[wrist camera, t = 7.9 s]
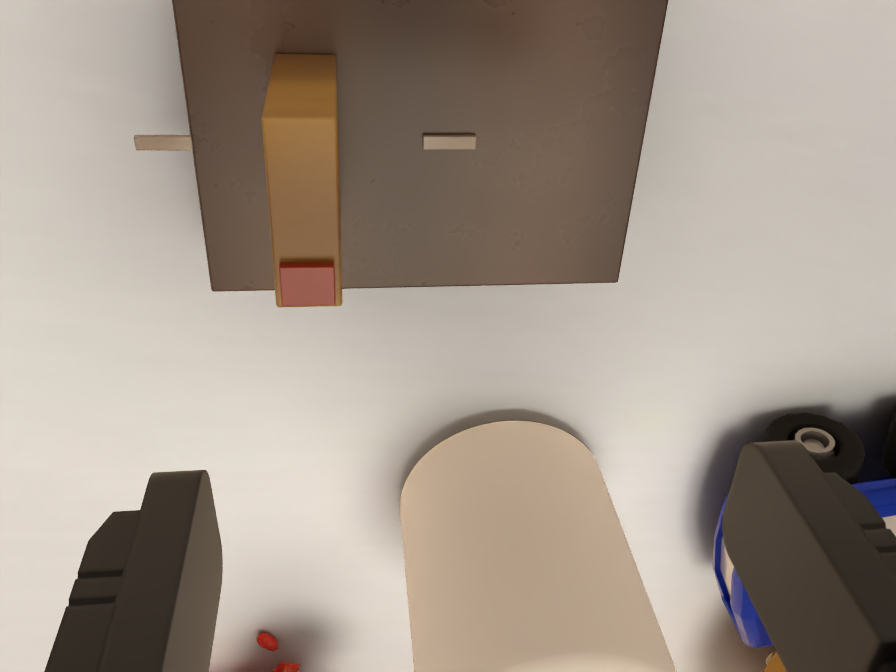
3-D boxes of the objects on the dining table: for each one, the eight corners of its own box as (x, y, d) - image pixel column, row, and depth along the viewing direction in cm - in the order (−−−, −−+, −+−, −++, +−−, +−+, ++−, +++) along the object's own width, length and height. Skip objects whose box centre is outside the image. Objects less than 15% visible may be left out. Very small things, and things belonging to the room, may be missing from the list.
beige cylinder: (486, 581, 37) (542, 878, 27) (356, 492, 33) (366, 801, 23) (635, 482, 34) (756, 769, 25) (513, 373, 30) (599, 662, 21)
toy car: (940, 540, 39) (1094, 735, 31) (687, 577, 38) (779, 785, 30) (1001, 382, 33) (1204, 569, 26) (708, 422, 33) (826, 626, 25)
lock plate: (638, -59, 23) (678, -37, 20) (593, 237, 28) (620, 286, 25) (129, -73, 21) (101, -51, 18) (178, 244, 26) (161, 296, 24)
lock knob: (274, 53, 20) (260, 120, 16) (336, 53, 20) (336, 120, 17) (285, 221, 23) (275, 313, 19) (340, 220, 23) (342, 312, 19)
